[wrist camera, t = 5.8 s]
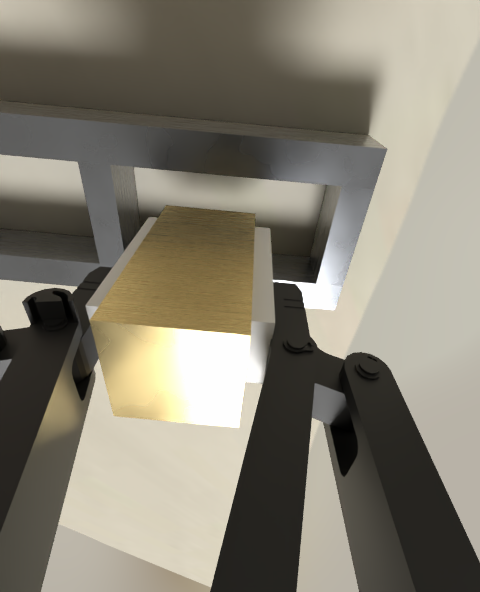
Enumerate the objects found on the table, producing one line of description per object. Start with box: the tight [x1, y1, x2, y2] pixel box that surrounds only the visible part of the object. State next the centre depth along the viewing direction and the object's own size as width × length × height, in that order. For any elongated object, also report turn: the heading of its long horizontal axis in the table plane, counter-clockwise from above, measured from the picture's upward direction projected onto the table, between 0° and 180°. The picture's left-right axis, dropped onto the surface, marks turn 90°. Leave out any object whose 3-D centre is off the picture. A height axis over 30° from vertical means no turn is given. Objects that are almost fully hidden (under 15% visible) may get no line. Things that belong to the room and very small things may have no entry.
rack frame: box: [0, 101, 387, 310], centre depth 18 cm, size 9×26×3 cm, turn 86°
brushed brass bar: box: [89, 205, 255, 428], centre depth 12 cm, size 4×4×8 cm
